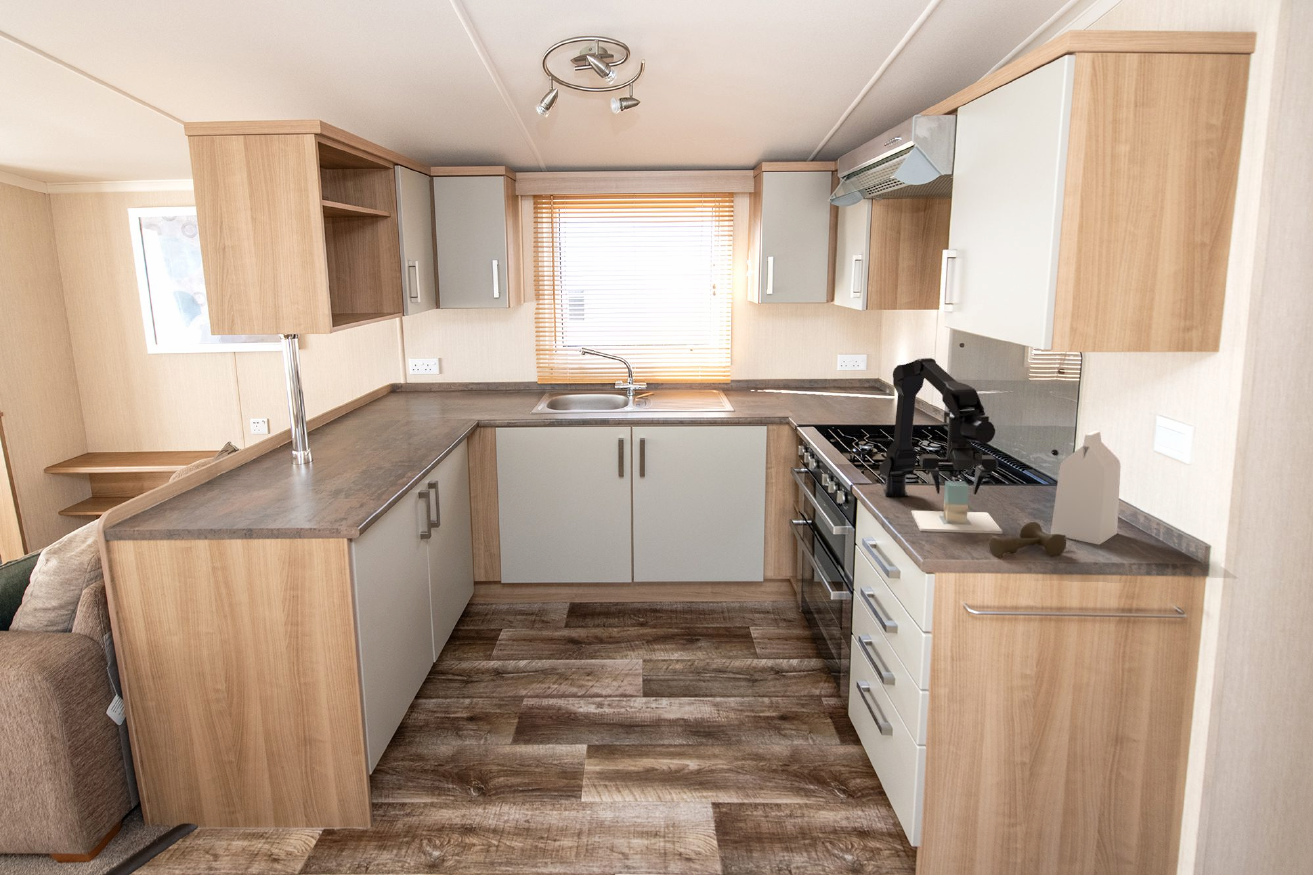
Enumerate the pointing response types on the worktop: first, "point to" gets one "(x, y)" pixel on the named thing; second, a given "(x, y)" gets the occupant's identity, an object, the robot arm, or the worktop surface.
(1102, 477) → the milk
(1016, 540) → the kendama
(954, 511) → the birch block
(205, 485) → the worktop surface
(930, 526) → the baseplate
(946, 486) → the teal block
